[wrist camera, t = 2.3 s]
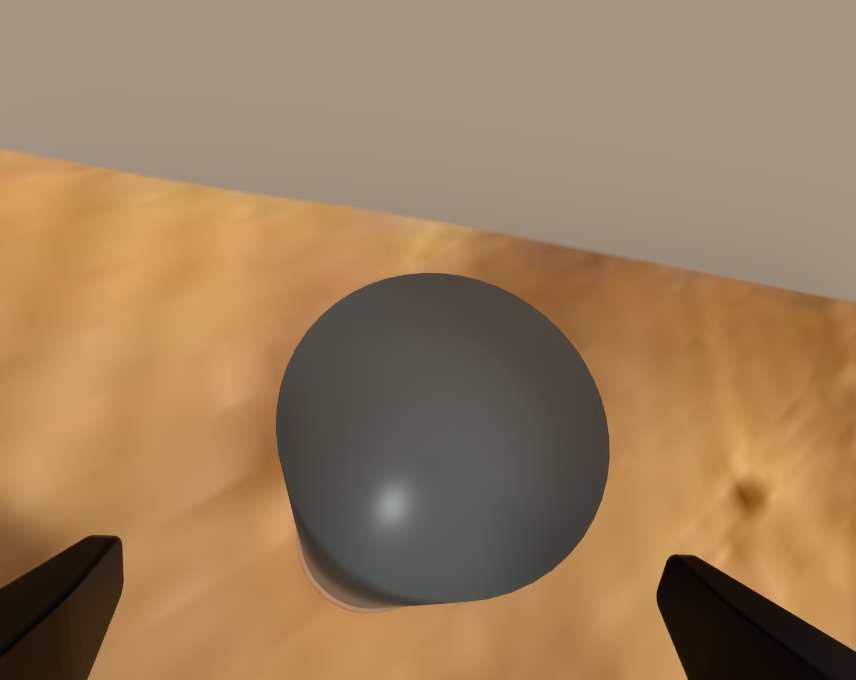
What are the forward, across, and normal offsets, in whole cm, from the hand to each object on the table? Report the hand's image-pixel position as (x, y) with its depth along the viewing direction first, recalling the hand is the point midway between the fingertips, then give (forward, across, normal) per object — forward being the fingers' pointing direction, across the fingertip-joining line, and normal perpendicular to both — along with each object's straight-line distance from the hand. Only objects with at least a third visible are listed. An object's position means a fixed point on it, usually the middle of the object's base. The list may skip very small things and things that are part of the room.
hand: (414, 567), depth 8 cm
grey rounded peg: (+8, 0, +5) cm, 9 cm away
